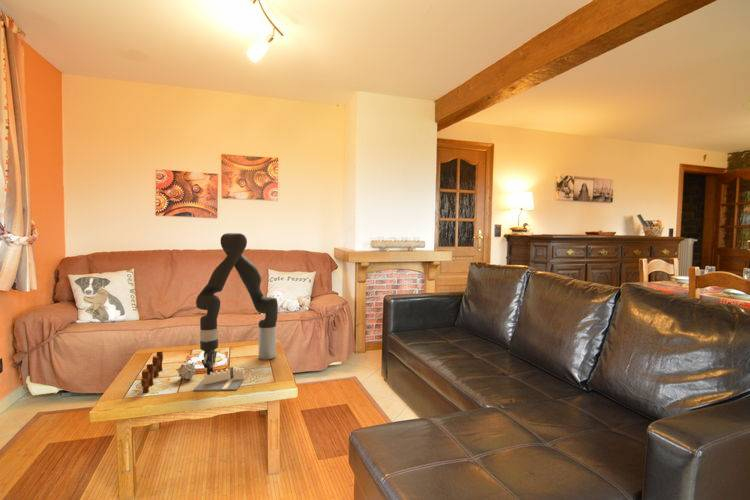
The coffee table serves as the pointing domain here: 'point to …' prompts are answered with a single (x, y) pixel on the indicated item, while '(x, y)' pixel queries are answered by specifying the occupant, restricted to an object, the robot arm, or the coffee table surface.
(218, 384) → the card
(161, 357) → the fence
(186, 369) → the grey spiky ball
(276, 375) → the coffee table surface
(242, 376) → the fixed panel
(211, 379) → the hinged panel
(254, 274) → the robot arm
